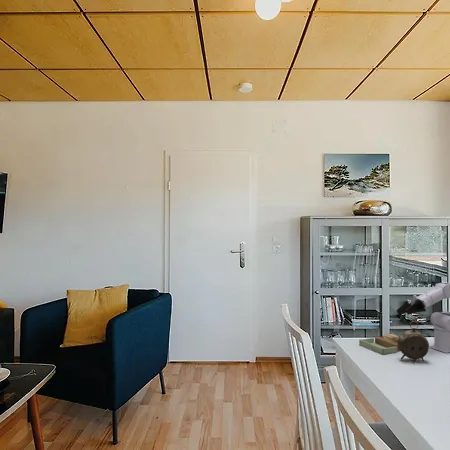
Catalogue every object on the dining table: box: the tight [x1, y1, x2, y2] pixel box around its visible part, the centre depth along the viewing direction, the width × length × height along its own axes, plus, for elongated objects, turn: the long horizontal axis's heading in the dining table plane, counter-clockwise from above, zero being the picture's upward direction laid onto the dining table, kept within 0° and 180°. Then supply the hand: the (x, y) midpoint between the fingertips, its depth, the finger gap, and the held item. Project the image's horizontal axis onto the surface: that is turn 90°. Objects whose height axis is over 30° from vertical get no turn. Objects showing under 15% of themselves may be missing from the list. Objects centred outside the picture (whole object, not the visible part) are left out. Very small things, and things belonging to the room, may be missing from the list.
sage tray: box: [358, 337, 398, 356], centre depth 167 cm, size 8×14×2 cm, turn 22°
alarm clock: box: [398, 320, 430, 364], centre depth 152 cm, size 11×5×16 cm, turn 84°
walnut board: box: [374, 335, 401, 353], centre depth 170 cm, size 9×12×3 cm
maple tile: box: [383, 333, 400, 342], centre depth 170 cm, size 4×4×2 cm
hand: (402, 312), depth 163 cm, fingers open, 7 cm apart
